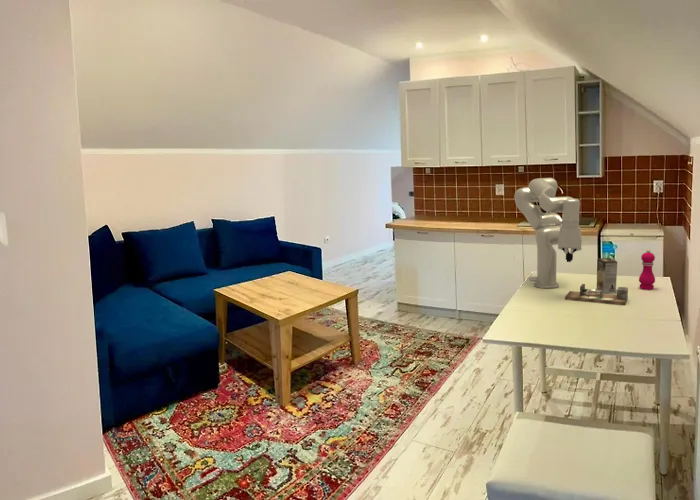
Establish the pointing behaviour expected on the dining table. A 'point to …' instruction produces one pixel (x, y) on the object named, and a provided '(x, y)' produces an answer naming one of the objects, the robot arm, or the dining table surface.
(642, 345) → the dining table surface
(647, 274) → the pepper mill
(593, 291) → the grey rod with block
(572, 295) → the base
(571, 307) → the dining table surface
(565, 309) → the dining table surface
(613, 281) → the coffee box
